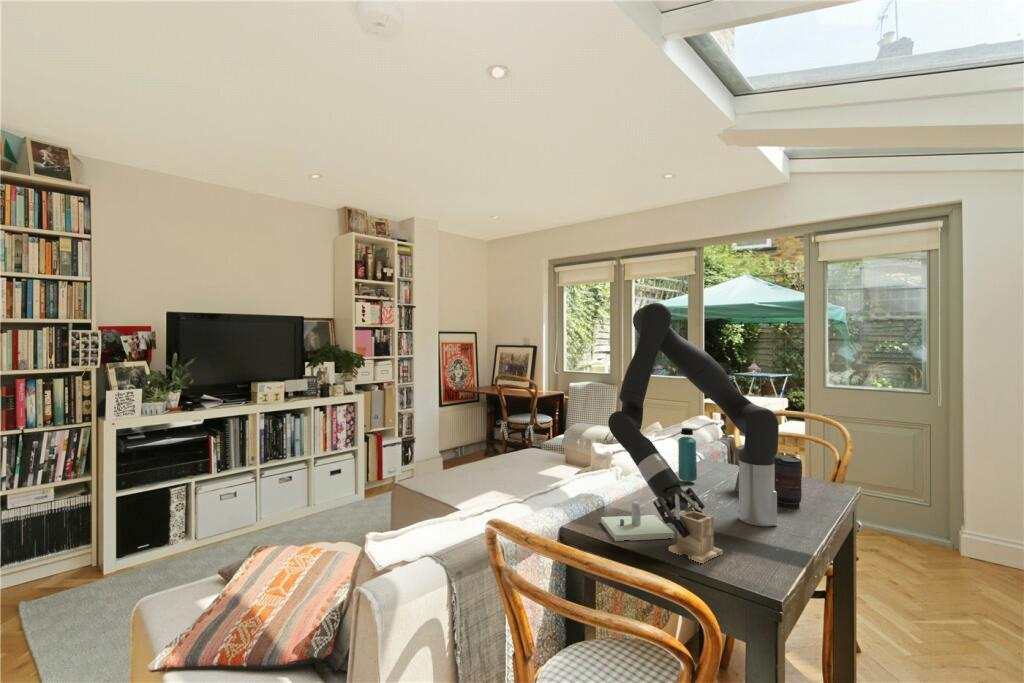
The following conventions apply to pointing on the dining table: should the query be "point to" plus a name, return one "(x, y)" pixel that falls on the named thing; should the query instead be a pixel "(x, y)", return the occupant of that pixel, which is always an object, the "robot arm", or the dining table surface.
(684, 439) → the beverage bottle
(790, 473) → the camera lens
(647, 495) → the dining table surface
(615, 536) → the post plate
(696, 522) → the flange collar
